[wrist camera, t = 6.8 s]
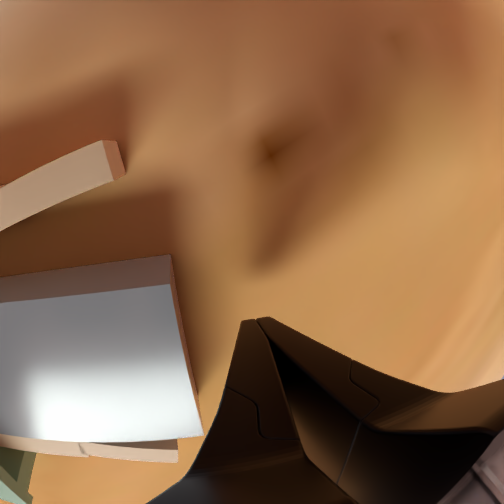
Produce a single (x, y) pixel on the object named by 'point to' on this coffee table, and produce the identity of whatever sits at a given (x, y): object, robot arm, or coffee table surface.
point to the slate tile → (96, 355)
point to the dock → (14, 210)
